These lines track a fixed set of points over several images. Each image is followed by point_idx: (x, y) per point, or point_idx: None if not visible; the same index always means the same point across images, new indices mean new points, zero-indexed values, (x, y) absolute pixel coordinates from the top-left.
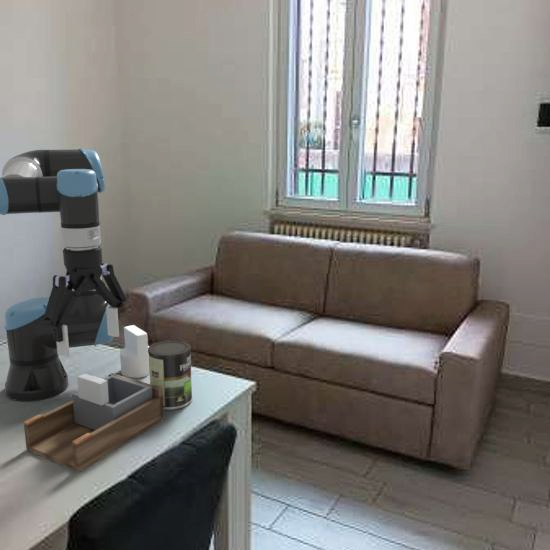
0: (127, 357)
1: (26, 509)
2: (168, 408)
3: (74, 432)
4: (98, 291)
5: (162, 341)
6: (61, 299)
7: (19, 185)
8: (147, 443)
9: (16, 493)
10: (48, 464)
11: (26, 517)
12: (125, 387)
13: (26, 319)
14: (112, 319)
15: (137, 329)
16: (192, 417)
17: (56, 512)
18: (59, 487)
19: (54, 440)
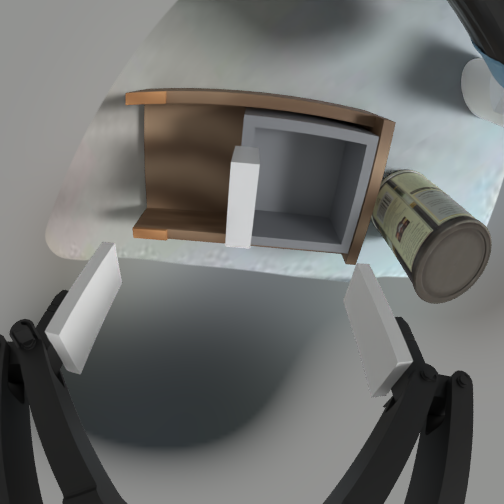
0: (488, 88)
1: (72, 215)
2: (372, 219)
3: (221, 128)
4: (349, 483)
5: (487, 231)
6: (30, 474)
7: None
8: (262, 247)
9: (77, 179)
10: (137, 157)
11: (67, 225)
12: (352, 180)
13: None
14: (366, 341)
15: None
16: (358, 261)
17: (90, 246)
18: (114, 215)
19: (181, 118)
